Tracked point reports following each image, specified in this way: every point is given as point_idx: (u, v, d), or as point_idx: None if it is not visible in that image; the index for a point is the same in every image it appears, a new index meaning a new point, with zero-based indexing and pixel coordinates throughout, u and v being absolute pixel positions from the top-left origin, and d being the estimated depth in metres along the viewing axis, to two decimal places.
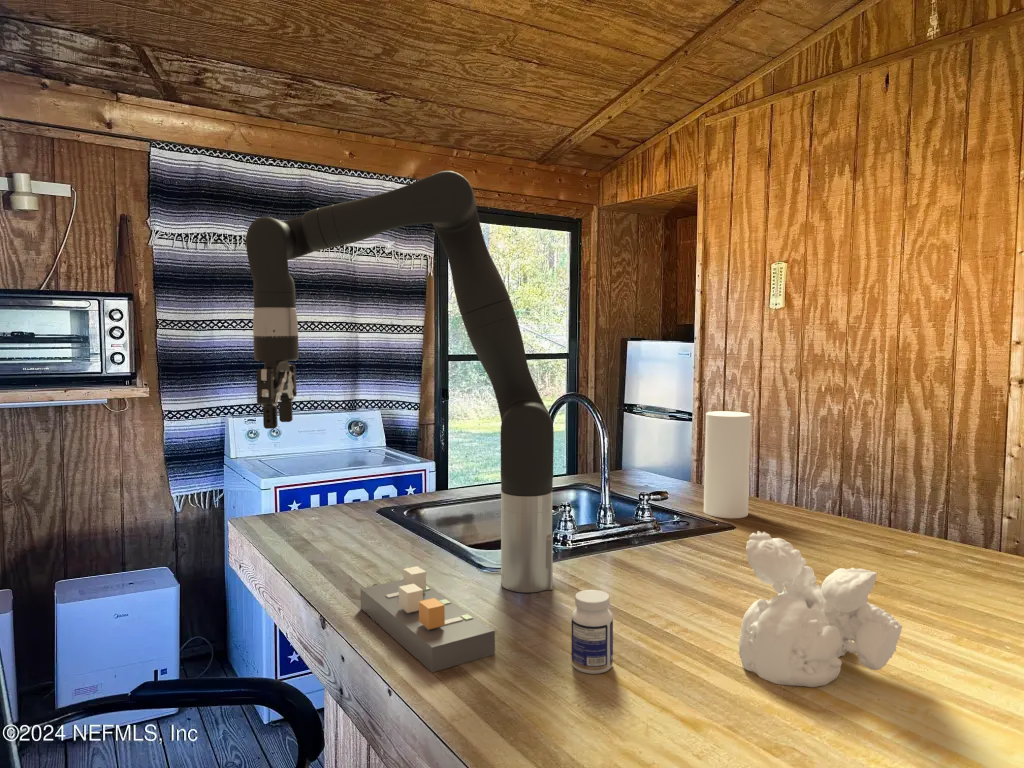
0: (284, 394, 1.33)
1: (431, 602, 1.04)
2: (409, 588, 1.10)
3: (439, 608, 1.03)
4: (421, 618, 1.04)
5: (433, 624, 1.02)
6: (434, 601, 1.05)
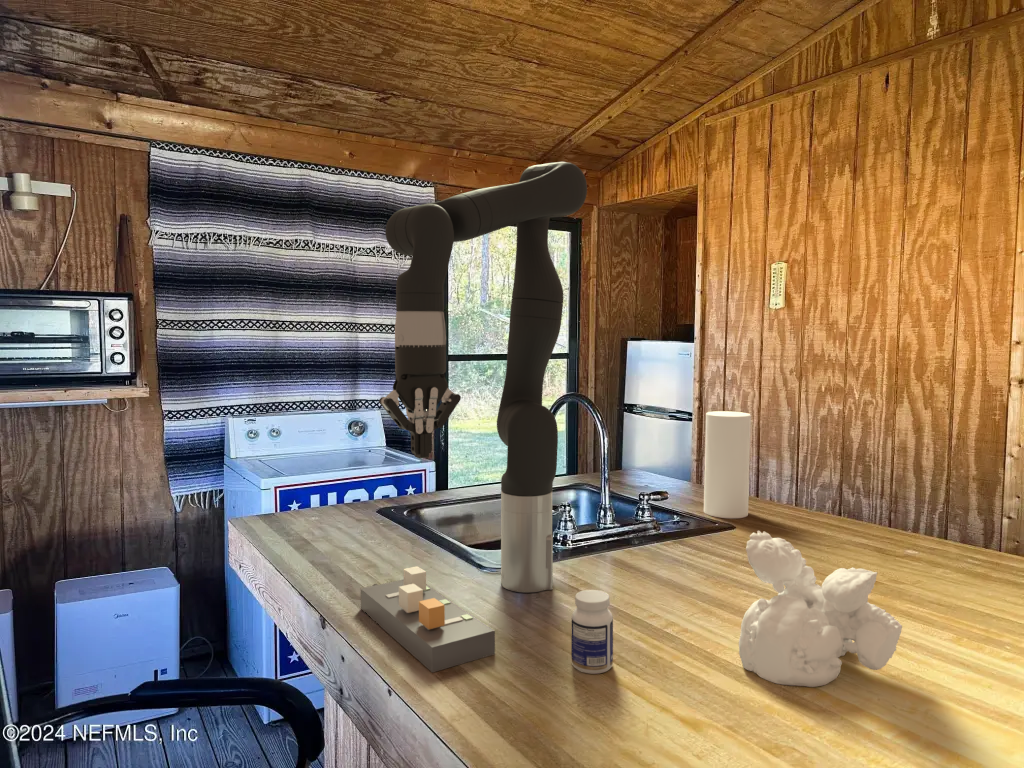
0: None
1: (431, 602, 1.04)
2: (409, 588, 1.10)
3: (439, 608, 1.03)
4: (421, 618, 1.04)
5: (433, 624, 1.02)
6: (434, 601, 1.05)
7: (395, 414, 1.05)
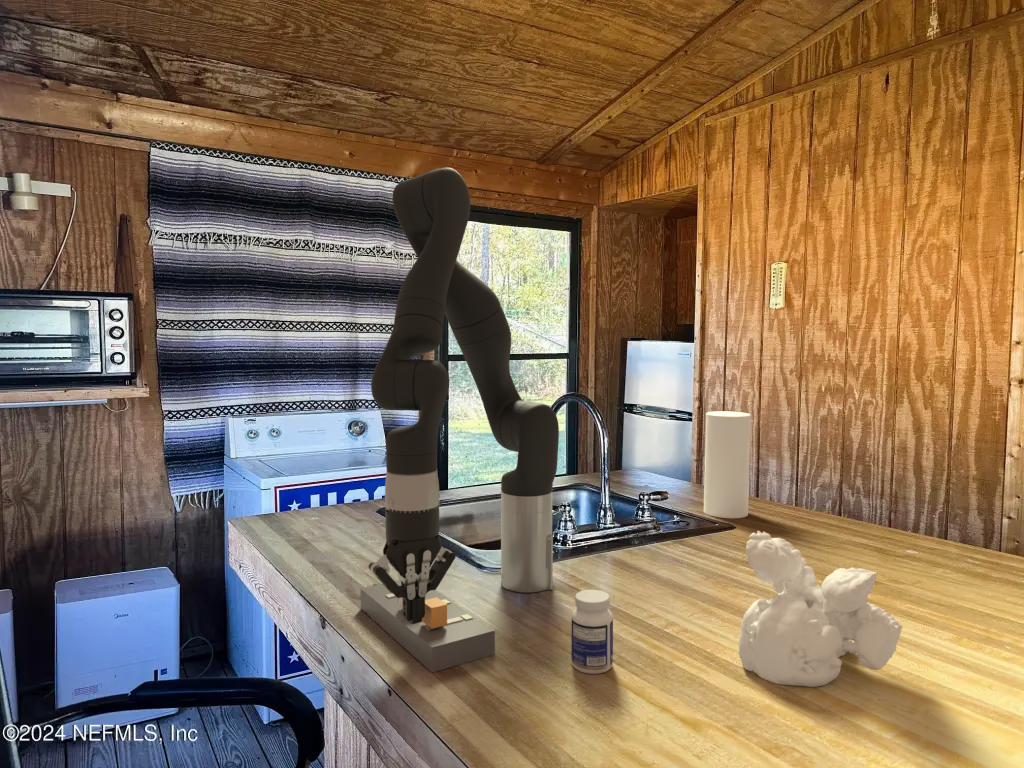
0: None
1: (434, 601, 1.04)
2: None
3: (442, 607, 1.03)
4: (424, 617, 1.04)
5: (436, 623, 1.03)
6: (437, 600, 1.05)
7: (385, 583, 0.99)
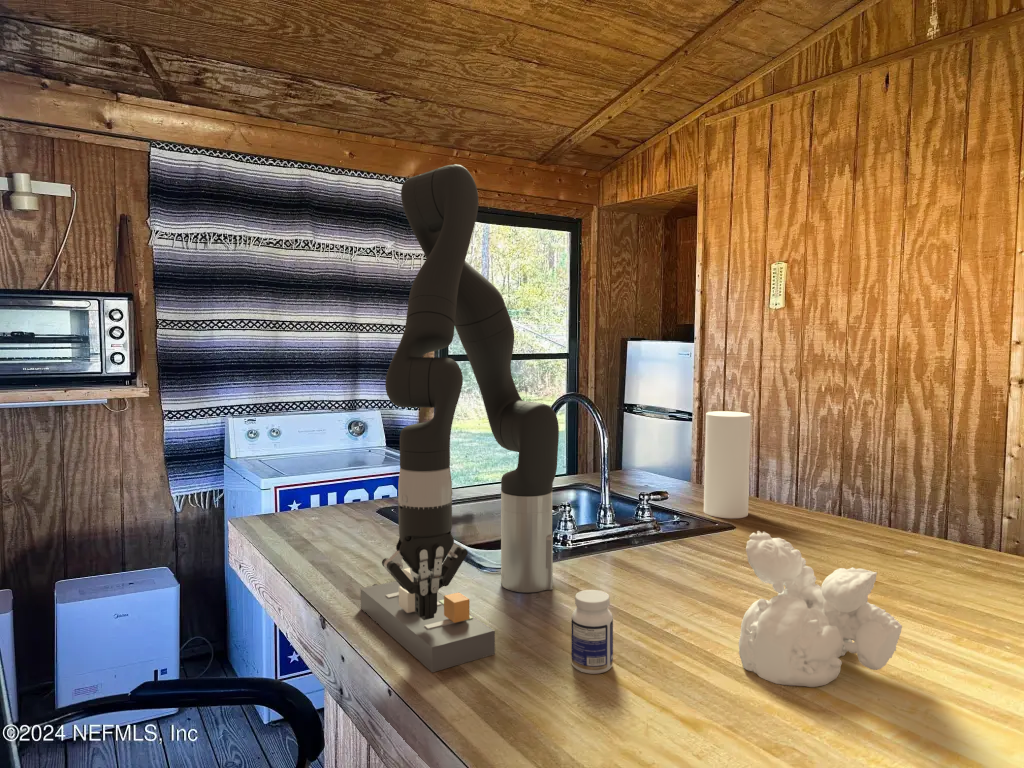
0: None
1: (456, 596, 1.06)
2: None
3: (464, 602, 1.05)
4: (446, 612, 1.06)
5: (459, 617, 1.05)
6: (459, 595, 1.07)
7: (399, 578, 0.99)
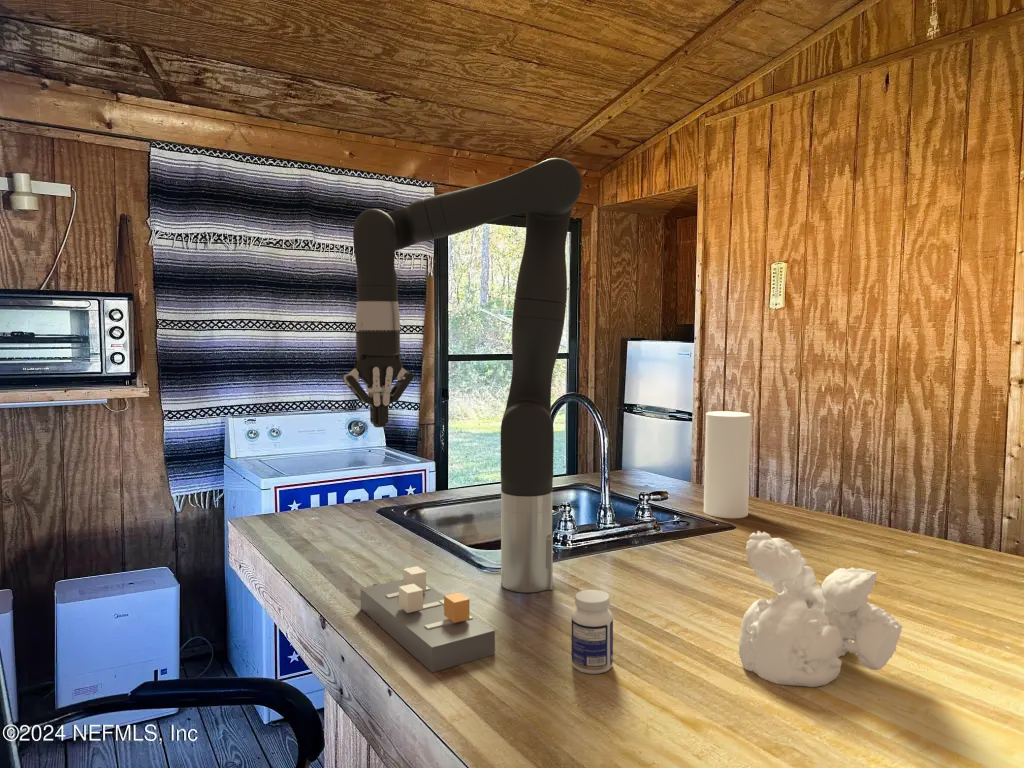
0: None
1: (456, 596, 1.06)
2: (409, 588, 1.10)
3: (464, 602, 1.05)
4: (446, 612, 1.06)
5: (459, 617, 1.05)
6: (459, 595, 1.07)
7: (355, 389, 1.23)
